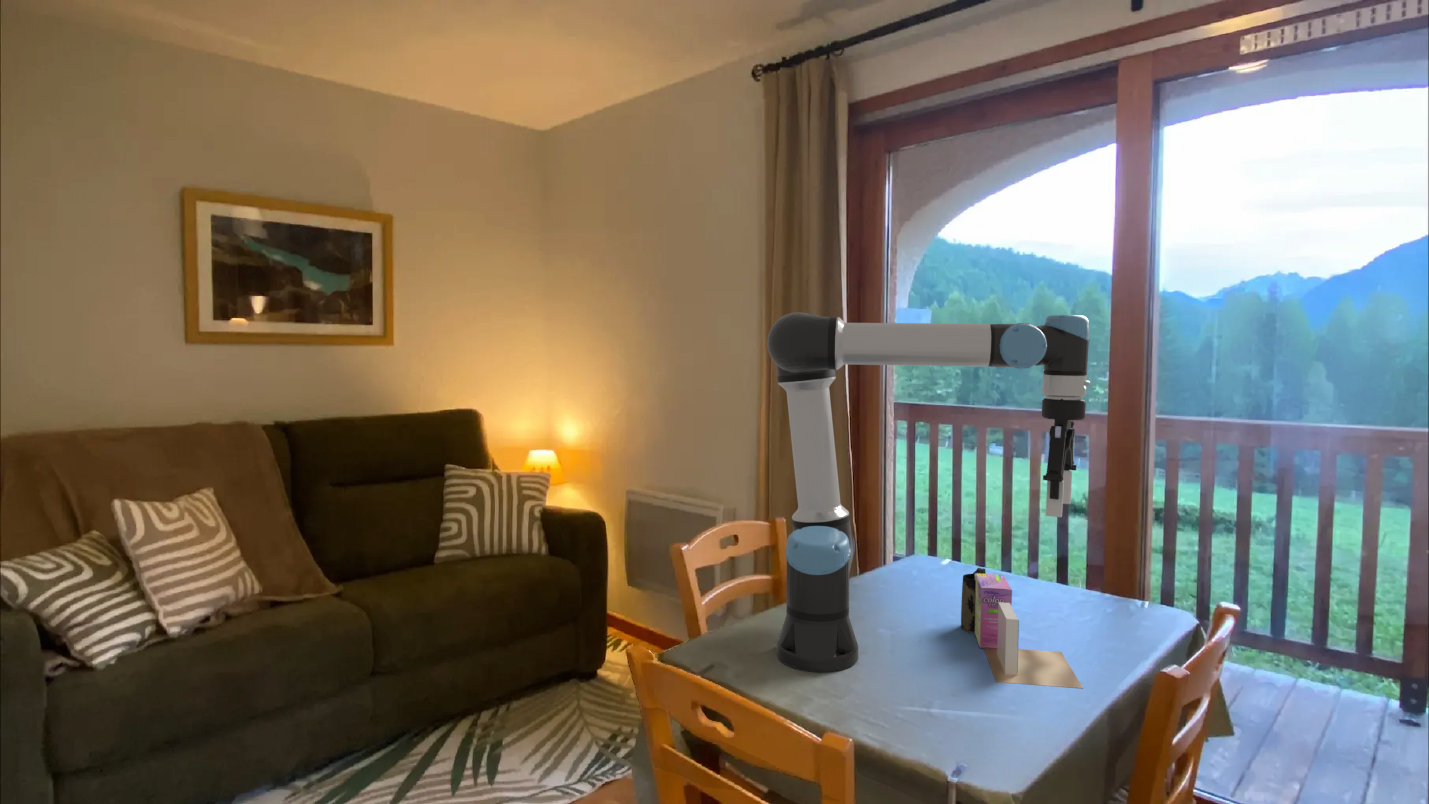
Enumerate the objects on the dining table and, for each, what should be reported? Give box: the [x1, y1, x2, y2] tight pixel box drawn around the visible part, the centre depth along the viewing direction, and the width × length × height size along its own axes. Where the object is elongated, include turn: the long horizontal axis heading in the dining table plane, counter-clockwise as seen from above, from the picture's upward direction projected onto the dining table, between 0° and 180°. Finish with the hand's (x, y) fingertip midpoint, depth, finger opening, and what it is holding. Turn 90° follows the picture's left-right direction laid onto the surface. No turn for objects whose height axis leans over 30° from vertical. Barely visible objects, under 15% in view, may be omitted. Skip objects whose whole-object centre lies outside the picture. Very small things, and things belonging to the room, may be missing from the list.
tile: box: [997, 602, 1020, 675], centre depth 144 cm, size 2×9×10 cm, turn 169°
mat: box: [983, 648, 1084, 689], centre depth 144 cm, size 14×16×1 cm
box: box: [974, 573, 1013, 649], centre depth 156 cm, size 10×6×12 cm, turn 168°
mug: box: [960, 567, 987, 634], centre depth 163 cm, size 8×6×12 cm
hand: (1058, 509), depth 151 cm, fingers open, 13 cm apart
